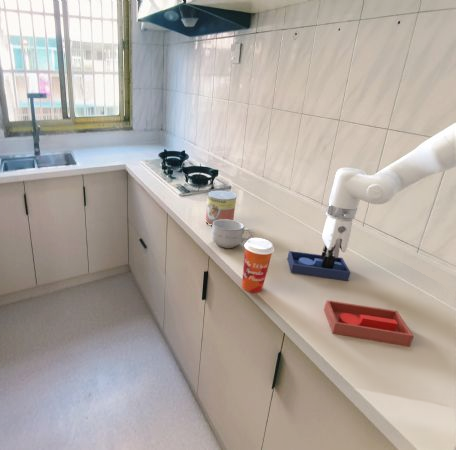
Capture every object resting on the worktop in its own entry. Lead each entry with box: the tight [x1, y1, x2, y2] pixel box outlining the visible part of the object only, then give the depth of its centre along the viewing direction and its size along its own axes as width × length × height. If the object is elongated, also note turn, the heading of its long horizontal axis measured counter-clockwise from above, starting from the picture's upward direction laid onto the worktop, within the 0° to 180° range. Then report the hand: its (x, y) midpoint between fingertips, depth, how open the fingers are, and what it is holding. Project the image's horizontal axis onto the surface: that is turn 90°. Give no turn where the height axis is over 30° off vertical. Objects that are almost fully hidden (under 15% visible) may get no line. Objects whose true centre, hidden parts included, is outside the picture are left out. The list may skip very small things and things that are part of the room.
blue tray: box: [287, 250, 352, 282], centre depth 106 cm, size 16×9×3 cm, turn 77°
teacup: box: [211, 219, 254, 249], centre depth 118 cm, size 14×11×8 cm
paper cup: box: [241, 237, 275, 294], centre depth 93 cm, size 8×8×14 cm
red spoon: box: [339, 313, 398, 331], centre depth 81 cm, size 12×5×2 cm, turn 77°
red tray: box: [323, 299, 415, 347], centre depth 81 cm, size 16×9×3 cm, turn 77°
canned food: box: [205, 189, 238, 225], centre depth 136 cm, size 11×11×12 cm
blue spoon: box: [298, 258, 342, 270], centre depth 105 cm, size 12×5×2 cm, turn 77°
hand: (325, 265), depth 105 cm, fingers closed on blue spoon, 1 cm apart
